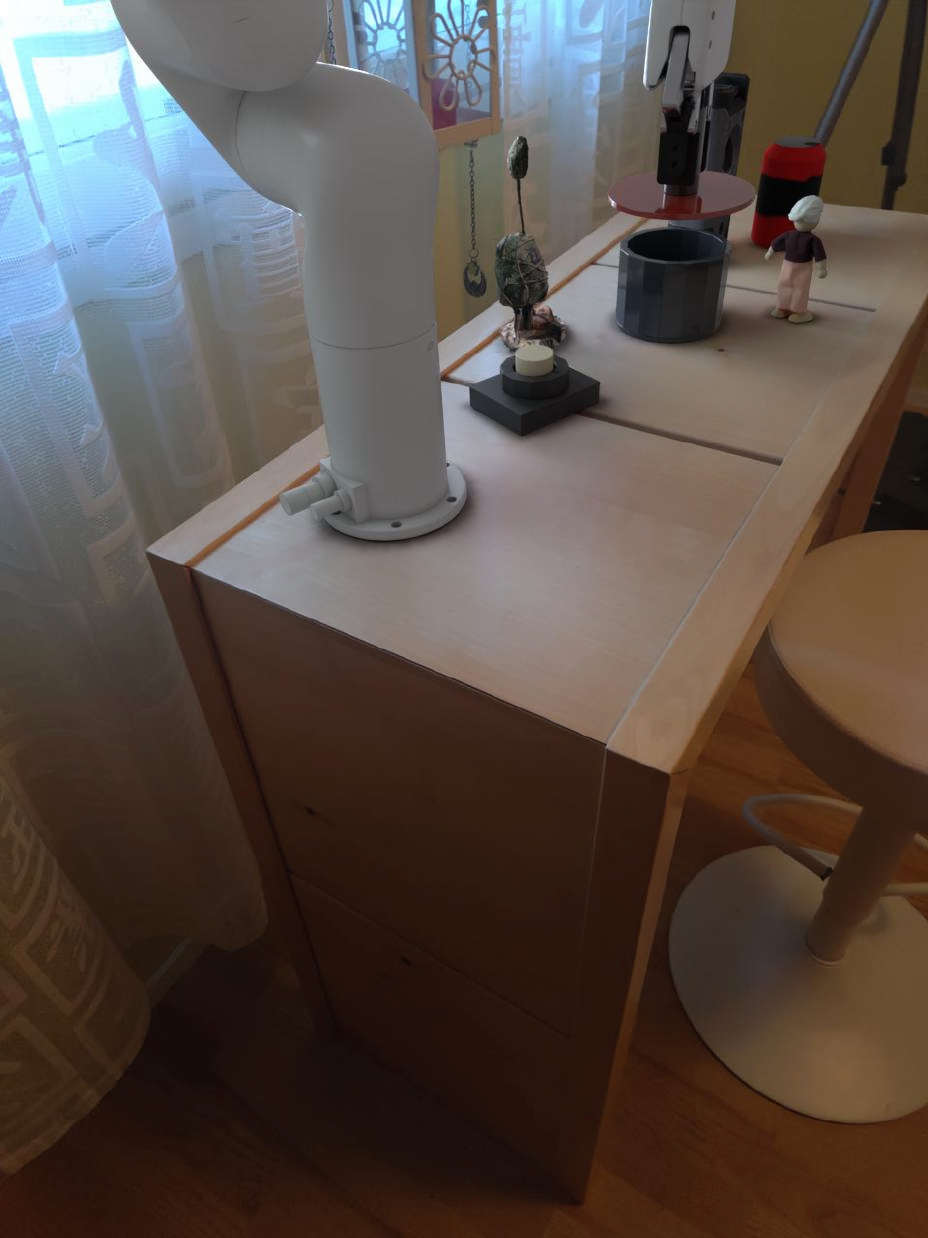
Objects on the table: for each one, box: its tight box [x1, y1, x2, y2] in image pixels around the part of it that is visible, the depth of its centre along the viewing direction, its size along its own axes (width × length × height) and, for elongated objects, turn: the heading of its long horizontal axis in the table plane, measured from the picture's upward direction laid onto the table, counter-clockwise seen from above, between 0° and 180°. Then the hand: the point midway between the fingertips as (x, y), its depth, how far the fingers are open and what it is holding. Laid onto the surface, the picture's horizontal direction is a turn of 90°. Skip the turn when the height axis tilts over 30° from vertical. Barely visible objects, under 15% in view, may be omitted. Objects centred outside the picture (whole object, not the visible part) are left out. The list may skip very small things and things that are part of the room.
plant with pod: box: [492, 135, 568, 351], centre depth 92 cm, size 8×11×20 cm
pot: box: [614, 226, 732, 344], centre depth 98 cm, size 12×12×8 cm
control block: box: [468, 353, 601, 437], centre depth 86 cm, size 10×8×4 cm
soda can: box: [750, 135, 828, 250], centre depth 115 cm, size 8×8×12 cm
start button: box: [515, 345, 555, 377], centre depth 85 cm, size 4×4×2 cm
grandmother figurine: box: [764, 195, 829, 324], centre depth 96 cm, size 8×4×13 cm, turn 50°
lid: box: [606, 102, 757, 221], centre depth 75 cm, size 13×13×8 cm
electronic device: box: [667, 71, 751, 240], centre depth 109 cm, size 9×6×20 cm, turn 148°
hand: (681, 175), depth 76 cm, fingers closed on lid, 3 cm apart
